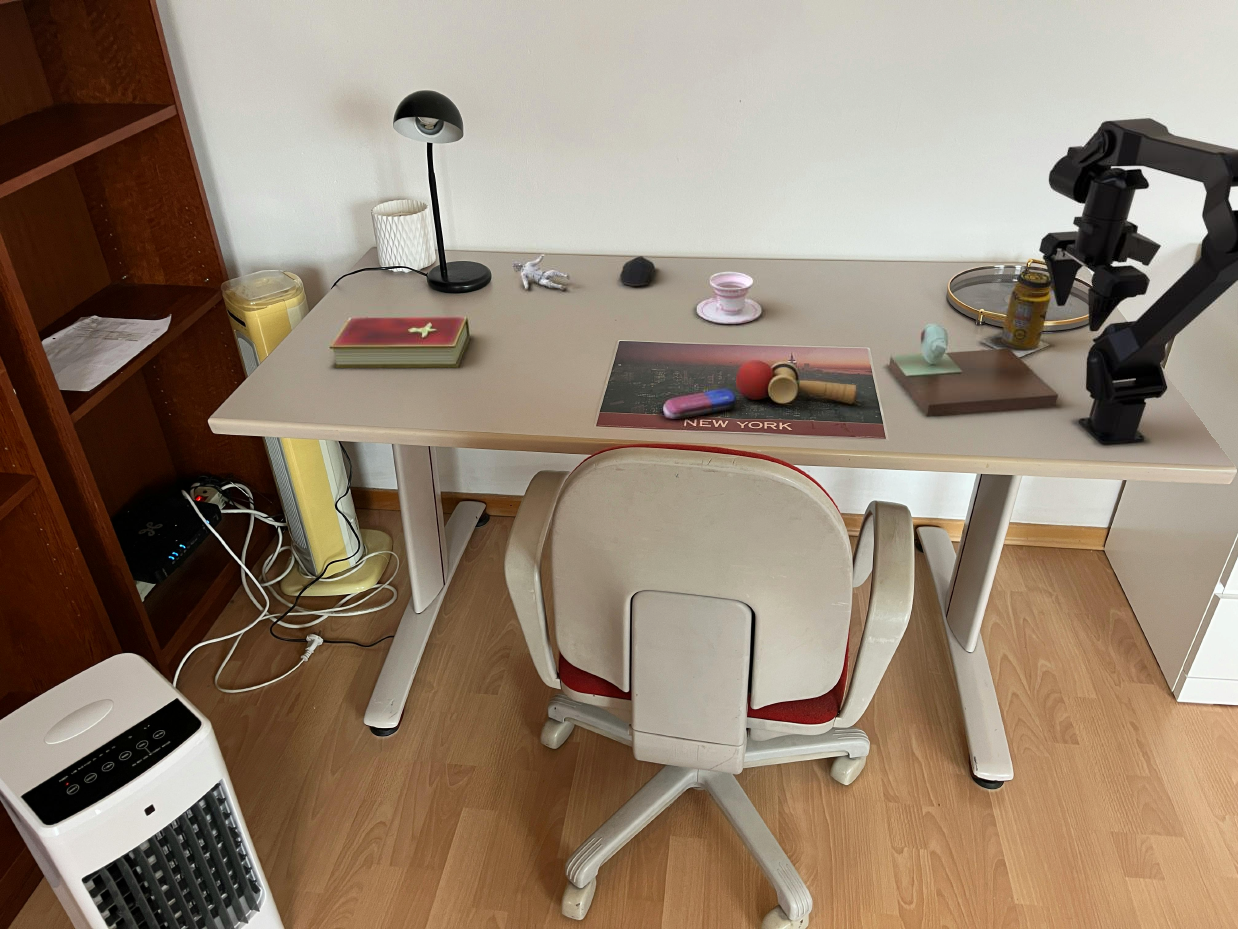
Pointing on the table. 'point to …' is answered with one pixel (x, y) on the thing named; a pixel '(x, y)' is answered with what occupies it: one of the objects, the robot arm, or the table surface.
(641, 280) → the gaming mouse
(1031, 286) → the condiment
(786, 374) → the kendama
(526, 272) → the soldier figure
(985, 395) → the walnut board
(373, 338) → the hardcover book
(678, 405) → the eraser
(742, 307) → the teacup
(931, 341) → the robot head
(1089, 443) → the table surface
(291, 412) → the table surface
